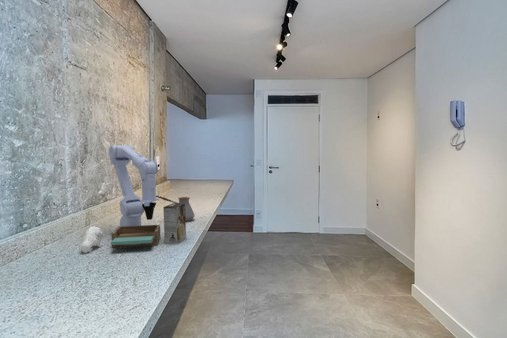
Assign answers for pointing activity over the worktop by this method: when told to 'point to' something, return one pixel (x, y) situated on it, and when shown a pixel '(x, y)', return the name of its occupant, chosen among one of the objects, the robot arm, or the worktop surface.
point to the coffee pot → (188, 209)
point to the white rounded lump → (91, 239)
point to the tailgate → (132, 240)
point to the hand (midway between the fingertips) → (149, 219)
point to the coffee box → (174, 223)
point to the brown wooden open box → (137, 234)
